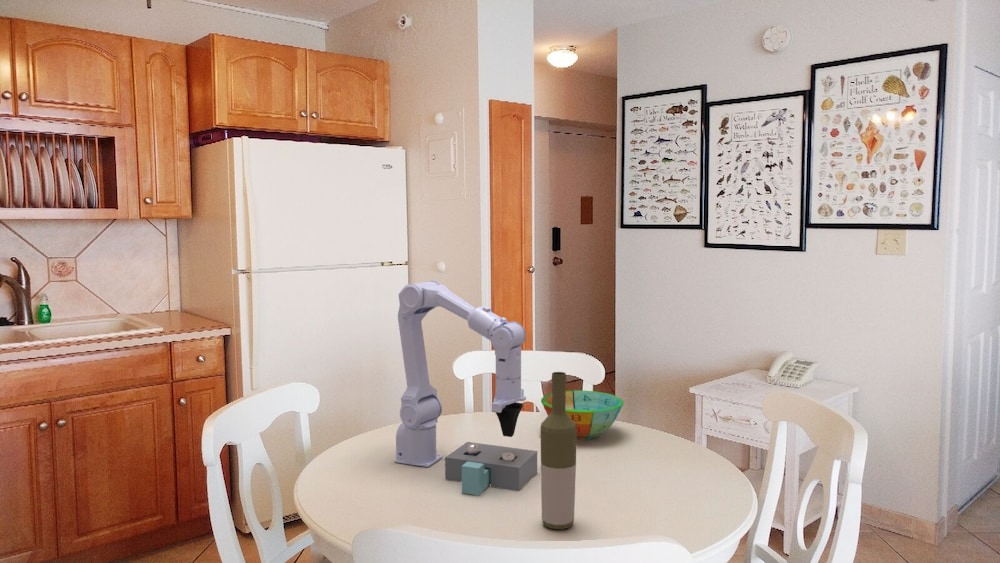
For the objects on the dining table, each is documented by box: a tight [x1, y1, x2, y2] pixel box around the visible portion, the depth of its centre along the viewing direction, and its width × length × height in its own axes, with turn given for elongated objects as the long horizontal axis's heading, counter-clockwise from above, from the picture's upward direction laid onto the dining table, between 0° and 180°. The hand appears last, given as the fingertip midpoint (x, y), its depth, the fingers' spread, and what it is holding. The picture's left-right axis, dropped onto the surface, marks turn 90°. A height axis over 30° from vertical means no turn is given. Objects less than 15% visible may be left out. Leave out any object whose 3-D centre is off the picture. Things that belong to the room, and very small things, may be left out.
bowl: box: [540, 390, 625, 441], centre depth 194 cm, size 22×22×10 cm
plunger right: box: [502, 452, 515, 461], centre depth 162 cm, size 3×3×3 cm
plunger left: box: [466, 442, 478, 456], centre depth 165 cm, size 3×3×3 cm
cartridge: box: [461, 461, 491, 496], centre depth 160 cm, size 4×15×6 cm, turn 158°
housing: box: [444, 441, 538, 492], centre depth 165 cm, size 18×12×5 cm, turn 68°
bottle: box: [539, 371, 577, 530], centre depth 138 cm, size 7×7×30 cm
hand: (508, 435), depth 161 cm, fingers closed
